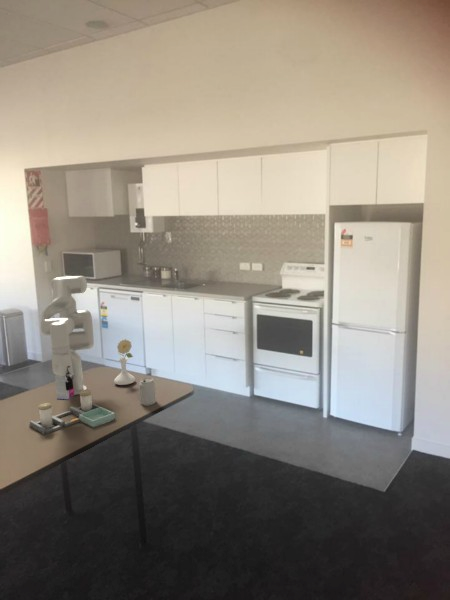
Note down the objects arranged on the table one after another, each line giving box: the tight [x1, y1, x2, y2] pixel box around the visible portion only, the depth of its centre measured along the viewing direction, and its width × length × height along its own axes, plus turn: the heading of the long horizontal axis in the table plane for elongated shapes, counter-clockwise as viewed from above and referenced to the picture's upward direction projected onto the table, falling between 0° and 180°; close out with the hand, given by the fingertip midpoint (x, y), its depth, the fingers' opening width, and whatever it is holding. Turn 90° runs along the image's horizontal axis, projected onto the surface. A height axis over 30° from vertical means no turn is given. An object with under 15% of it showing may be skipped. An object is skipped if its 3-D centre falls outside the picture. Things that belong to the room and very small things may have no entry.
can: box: [138, 377, 157, 407], centre depth 242 cm, size 8×8×12 cm
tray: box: [78, 406, 116, 428], centre depth 226 cm, size 11×11×3 cm
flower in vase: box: [113, 338, 136, 386], centre depth 270 cm, size 13×11×25 cm
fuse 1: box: [38, 402, 54, 430], centre depth 220 cm, size 5×5×10 cm
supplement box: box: [54, 373, 75, 401], centre depth 226 cm, size 6×6×12 cm
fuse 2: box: [79, 389, 93, 412], centre depth 234 cm, size 5×5×10 cm
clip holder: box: [28, 402, 101, 435], centre depth 228 cm, size 13×30×2 cm, turn 137°
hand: (64, 387), depth 226 cm, fingers closed on supplement box, 7 cm apart
